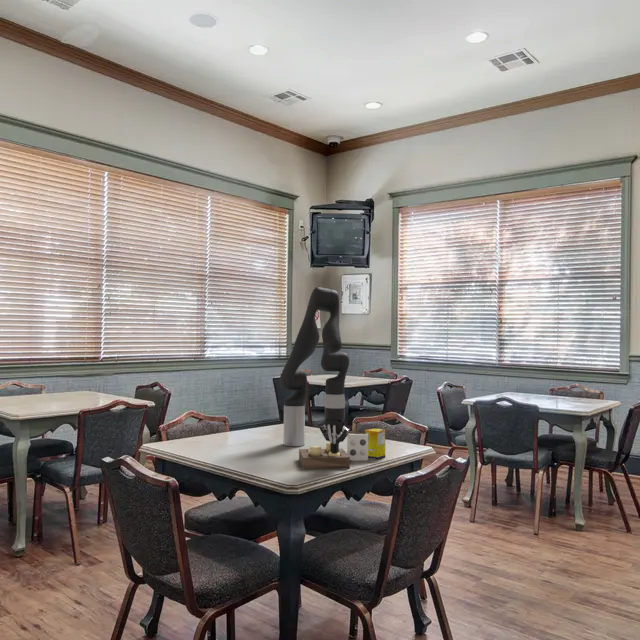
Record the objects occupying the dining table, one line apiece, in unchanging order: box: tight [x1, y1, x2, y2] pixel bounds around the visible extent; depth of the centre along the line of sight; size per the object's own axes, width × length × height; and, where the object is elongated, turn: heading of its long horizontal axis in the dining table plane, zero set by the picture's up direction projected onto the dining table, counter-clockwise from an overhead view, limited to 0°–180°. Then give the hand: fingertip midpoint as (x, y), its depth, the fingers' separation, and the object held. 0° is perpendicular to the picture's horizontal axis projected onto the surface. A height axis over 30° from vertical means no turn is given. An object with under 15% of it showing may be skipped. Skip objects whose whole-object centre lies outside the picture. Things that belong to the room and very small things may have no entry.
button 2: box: [309, 445, 322, 457], centre depth 223 cm, size 4×4×3 cm
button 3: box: [325, 441, 331, 453], centre depth 230 cm, size 4×4×3 cm
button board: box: [298, 448, 351, 470], centre depth 226 cm, size 17×17×4 cm
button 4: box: [329, 452, 340, 456], centre depth 223 cm, size 4×4×3 cm
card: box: [346, 433, 369, 461], centre depth 234 cm, size 1×8×10 cm, turn 97°
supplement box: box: [364, 427, 386, 460], centre depth 240 cm, size 6×6×11 cm
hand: (334, 453), depth 223 cm, fingers closed
